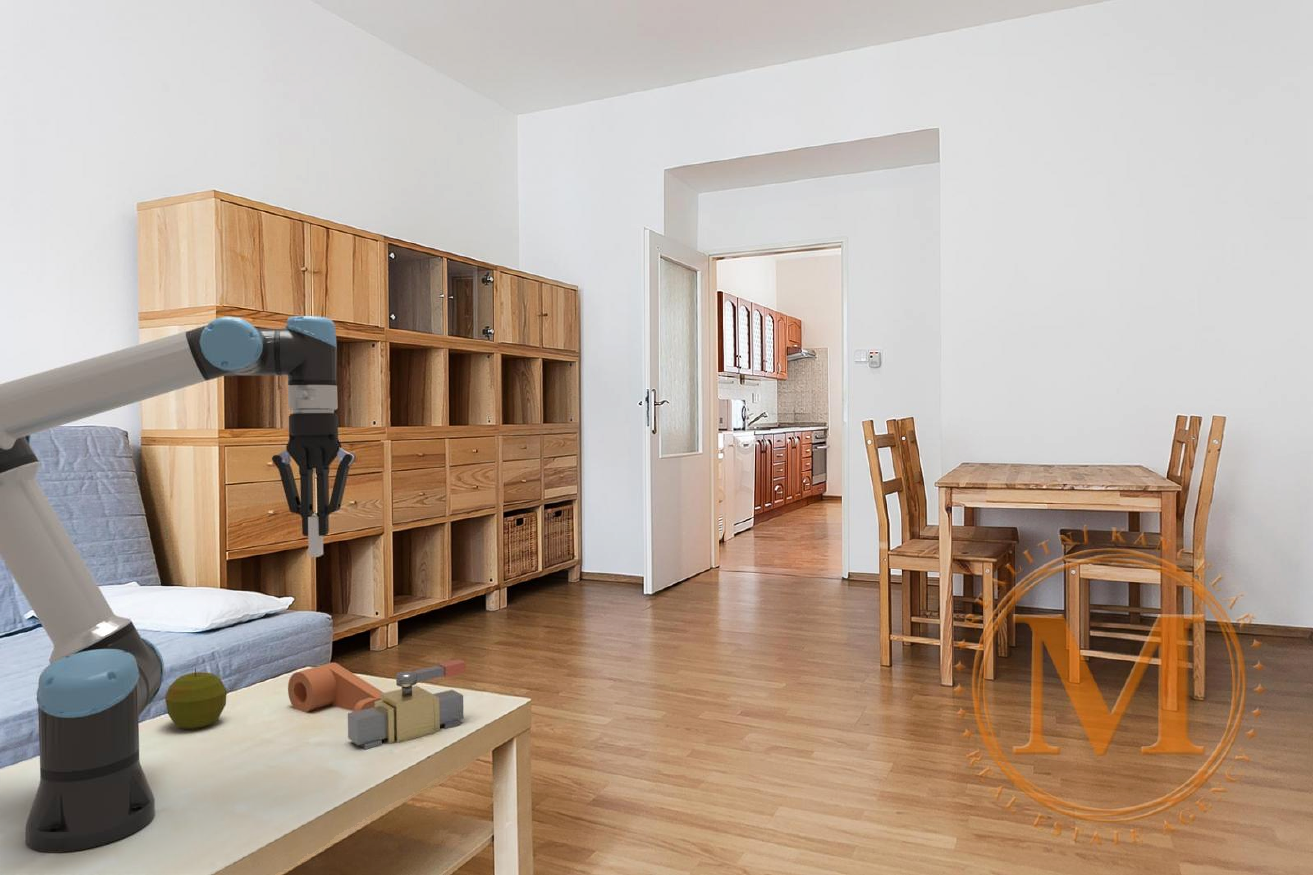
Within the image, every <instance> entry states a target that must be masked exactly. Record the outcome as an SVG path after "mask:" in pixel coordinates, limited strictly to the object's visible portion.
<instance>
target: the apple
mask: <svg viewBox="0 0 1313 875" xmlns="http://www.w3.org/2000/svg"><path fill="white" fill-rule="evenodd" d="M227 691H228V690H227V689H226V686H225V685H224V682H223V681H222V679H221V678H220V677H218V676H217V675H216V674H214V673H212V672H203V671H201V672H200V671H199V672H198V671H197V668H194V672H191V673H187V674H184V675H180V676H179V677H178V678H176V680H174V681H173V682H172V683H171V684H170V685H169V687H168V689H167V692H166V694H165V697H164V699H165V705H166V710H167V715H168V716H169V718H170V719H171V721H172V722H173V724H174V726H177V727H179V728H181V729H183V730H190V731H191V730H200V729H203V728H205V727H208V726H210V725H211V724H214V723H215V722H217V721H218V720H219V718H220V716H221V714H222V713H223V711H224V709H225V708H226V705H227V695H228V694H227V693H228V692H227Z"/></svg>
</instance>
